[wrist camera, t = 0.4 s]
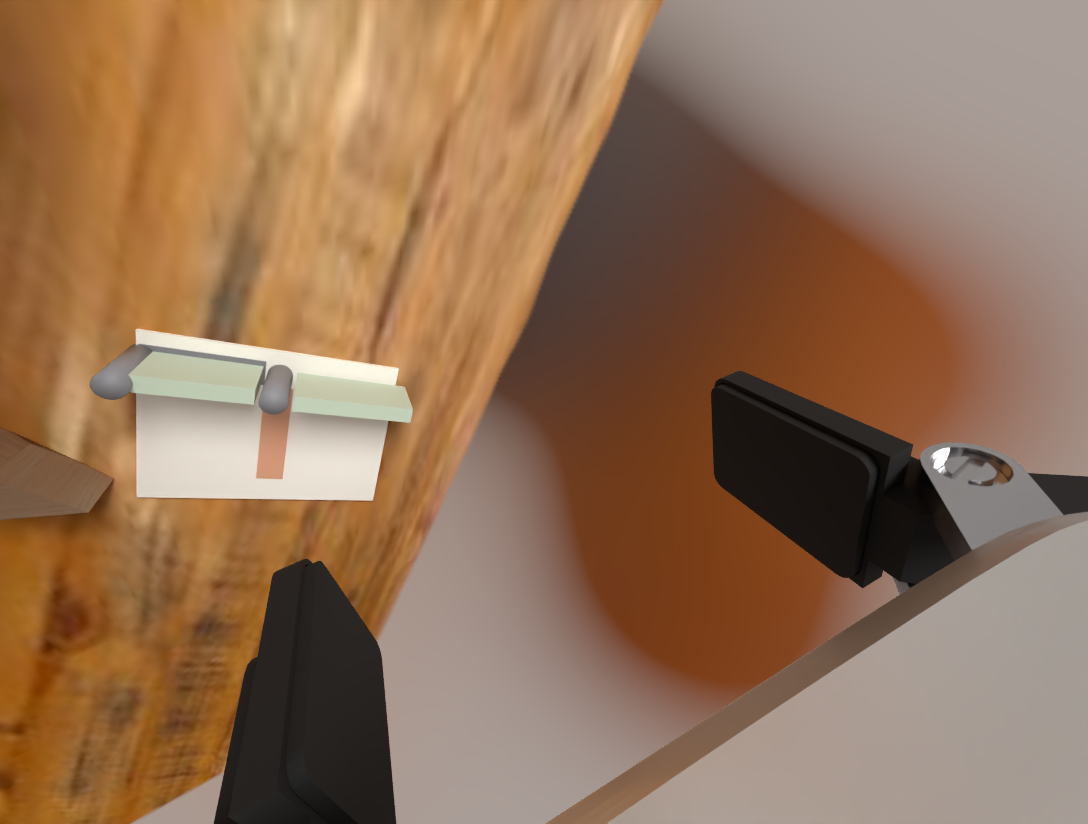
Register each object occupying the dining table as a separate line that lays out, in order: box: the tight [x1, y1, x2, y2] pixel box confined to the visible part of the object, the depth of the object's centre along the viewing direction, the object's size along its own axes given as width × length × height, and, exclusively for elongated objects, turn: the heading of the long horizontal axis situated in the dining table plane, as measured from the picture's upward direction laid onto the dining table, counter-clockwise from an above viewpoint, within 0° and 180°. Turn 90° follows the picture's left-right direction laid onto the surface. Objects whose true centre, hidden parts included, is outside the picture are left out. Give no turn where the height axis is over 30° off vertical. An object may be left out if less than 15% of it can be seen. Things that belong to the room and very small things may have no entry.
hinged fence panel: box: [292, 373, 413, 423], centre depth 37 cm, size 8×1×5 cm, turn 72°
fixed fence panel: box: [90, 344, 293, 415], centre depth 32 cm, size 10×2×6 cm, turn 72°
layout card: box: [136, 329, 399, 501], centre depth 38 cm, size 18×14×1 cm
